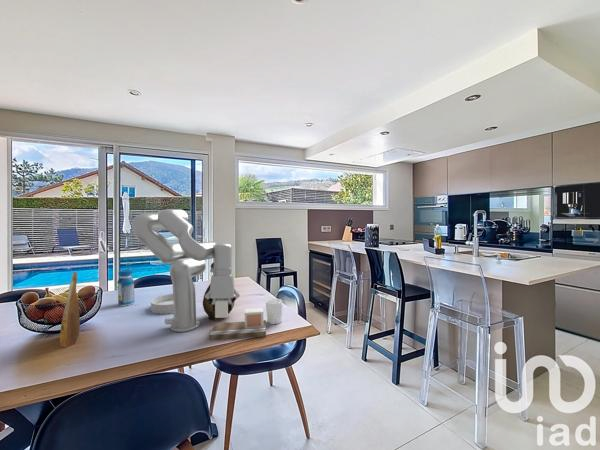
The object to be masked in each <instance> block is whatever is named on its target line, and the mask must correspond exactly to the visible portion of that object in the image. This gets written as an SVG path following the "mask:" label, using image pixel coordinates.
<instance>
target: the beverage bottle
mask: <svg viewBox="0 0 600 450" xmlns="http://www.w3.org/2000/svg"><path fill="white" fill-rule="evenodd" d="M132 275H133V269H130V268H129V269H128V268H127V269H126V268H125V269H121V270H120V269H119V270H118V277H119V278H118V279H117V287H116V288H117V300H118V301H117V302H118V303H117V305H118V306H120V307H126V306H127V305H128V306H131V304H132V305H133V304H134V305H135V301H136V300H135V283H134V281H135V280H134V278H133V277H132Z"/></svg>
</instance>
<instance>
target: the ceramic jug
mask: <svg viewBox="0 0 600 450" xmlns="http://www.w3.org/2000/svg"><path fill="white" fill-rule="evenodd" d="M213 268H214V261H213V262H212V263H211V264H210V269H213ZM209 291H210V284H208V286H207V288H206V290H205V292H204V296H203V300H202V308H203V310H204V312H205V314H206V315H207V317H208V319H209V320H210V321H213V322H214V321H223V320H225V319H226V318H215V314H214V311H213V305H212V303H211V302H210V301H209V300H208V299H206V298H205V295H206V294H207V293H208V292H209ZM209 296H210V295H209ZM233 297H235V295H234V296H233ZM235 302H236V300H235V301H234V302H233V303H232V310H233V309H234V306H235V304H236V303H235Z"/></svg>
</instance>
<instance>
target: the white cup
mask: <svg viewBox="0 0 600 450" xmlns="http://www.w3.org/2000/svg"><path fill="white" fill-rule="evenodd" d="M265 308H266V309H265V311H266V323H268V324H271V325H277V324H280V323H282V316H283V300H282V299H281V298H270V299H267V300H265Z"/></svg>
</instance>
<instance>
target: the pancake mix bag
mask: <svg viewBox="0 0 600 450" xmlns="http://www.w3.org/2000/svg"><path fill="white" fill-rule="evenodd" d="M77 283H78V273H77V272H76V271H75V270H73V272H72V276H71V279H70V283H69V286H68V294H67V298H66V301H65V305H64V310H63V315H62V319H61V324H60V325H61V326H60V331H59V332H60V334H59V344H60V347H61V348H68V347H71V346H73V345H75V344H76V342H77V340H78V337H79V335H80V325H81V324H80V322H81V321H80V320H81V319H80V306H79V302H78V295H77V285H78V284H77Z"/></svg>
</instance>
